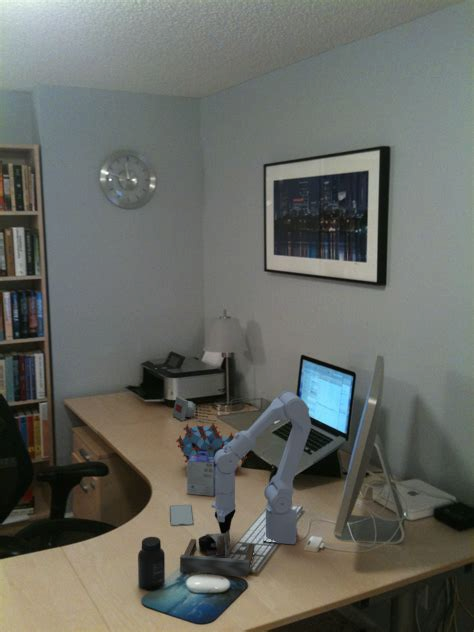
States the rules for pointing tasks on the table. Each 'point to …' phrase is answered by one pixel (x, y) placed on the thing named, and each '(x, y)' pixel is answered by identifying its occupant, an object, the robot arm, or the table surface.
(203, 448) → the molecule model
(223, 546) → the caster wheel
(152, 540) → the supplement bottle
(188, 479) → the ink cartridge box
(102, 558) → the table surface
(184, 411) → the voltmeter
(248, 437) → the robot arm
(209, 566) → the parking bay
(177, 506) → the smartphone
